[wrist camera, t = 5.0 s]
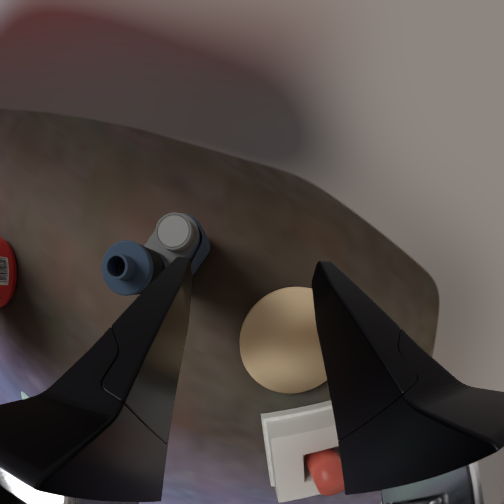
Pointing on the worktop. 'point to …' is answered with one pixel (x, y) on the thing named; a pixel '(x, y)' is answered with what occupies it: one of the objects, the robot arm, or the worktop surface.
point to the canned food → (7, 272)
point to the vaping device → (154, 254)
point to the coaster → (283, 342)
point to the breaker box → (297, 446)
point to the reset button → (326, 471)
